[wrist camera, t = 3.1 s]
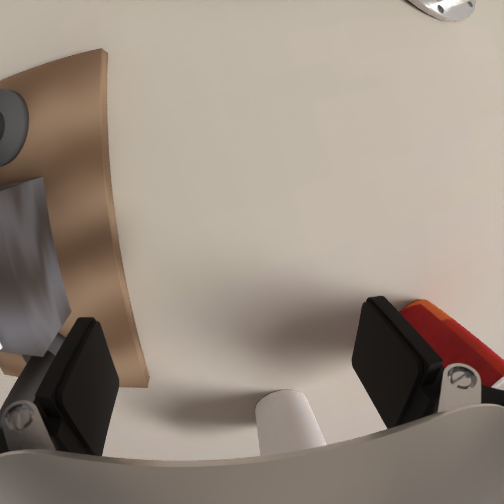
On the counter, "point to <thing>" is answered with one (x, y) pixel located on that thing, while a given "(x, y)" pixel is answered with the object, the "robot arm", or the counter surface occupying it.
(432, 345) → the coffee cup
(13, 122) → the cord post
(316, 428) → the white cup
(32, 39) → the counter surface
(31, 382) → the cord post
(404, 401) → the robot arm
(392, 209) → the counter surface
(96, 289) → the breaker panel
